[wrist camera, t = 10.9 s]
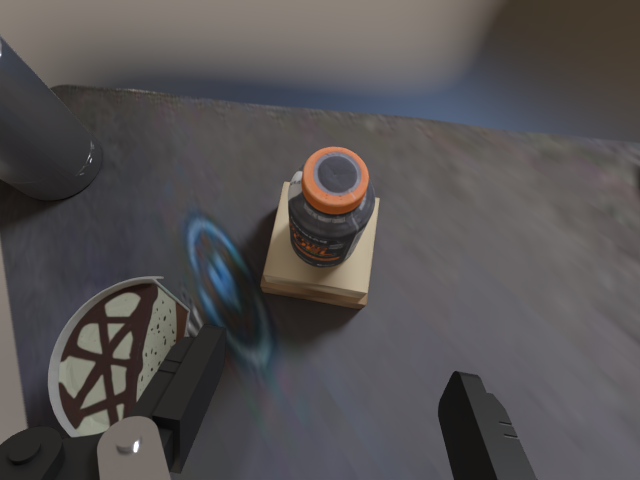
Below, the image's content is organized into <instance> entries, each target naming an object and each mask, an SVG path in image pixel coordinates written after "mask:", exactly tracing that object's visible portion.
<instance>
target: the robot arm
mask: <svg viewBox="0 0 640 480" xmlns="http://www.w3.org/2000/svg"><path fill="white" fill-rule="evenodd" d="M101 163H102V152H101V147H100V145H99V143H98V141H97V140H96V139H95V138H94V137H93V136H92V135H91V134H90V132H89V131H88V130H87V129H86V128H85V127H84V126H83V125H82V124H81V123H80V121H79V120H78V119H77V118H76V117H75V116H74V115H73V113H72V112H71V111H70V110H69V109H68V108H67V107H66V106H65V105H64V104H63V103H62V101H61V100H60V99H59V98H58V97H57V96H56V95H55V94H54V93H53V92H52V91H51V90H50V88H49V87H48V86H47V85H46V84H45V83H44V82H43V81H42V80H41V79H40V78H39V76H38V75H37V74H36V73H35V72H34V71H33V70H32V69H31V68H30V67H29V66H28V65H27V63H26V62H25V61H24V60H23V59H22V58H21V57H20V56H19V55H18V54H17V52H16V51H14V49H13V48H12V47H11V46H10V45H9V44H8V43H7V42H6V41H5V39H4V38H2V36H1V35H0V179H1V180H3V181H5V182H6V183H8V184H9V185H11V186H13V187H14V188H16V189H18V190H19V191H21V192H23V193H24V194H26V195H28V196H30V197H32V198H35V199H39V200H59V199H64V198H67V197H69V196H72V195H74V194H76V193H78V192H80V191H81V190H83V189H84V188H85V187H86V186H88V185H89V184H90V183H91V181H92V180H93V179H94V178H95V177H96V175H97V173H98V171H99V169H100V166H101ZM225 345H226V328H224V327H218V326H213V325H207V324H204V325H203V326H202V328H201V330H200V331H199V333H198V335H197V337H196V338H191V337H184V338H182V339H181V340H180V341H178V342H177V343H176V344H174V345H173V346H172V347H171V349H170V350H169V352H168V353H167V355H166V357H165V358H164V361H162V363H161V364H160V366H159V368H158V369H157V372H155V374H154V376H153V377H152V379H151V380H150V382H149V383H148V385H147V387H146V388H145V390H144V391H143V393H142V395H141V396H140V398H139V399H138V401H137V402H136V404H135V406H134V407H133V409H132V410H131V412H130V413H129V415H128V416H127V417H126V418H125V419H122V420H120V421H118V422H116V423H115V424H113V425H112V426H111V427H109V428H108V429H107V430H106V431H104V432H101V433H98V434H93V435H87V436H79V437H71V438H64V439H62V438H61V435H60V433H59V432H58V431H57V430H56V429H54V428H51V427H47V426H39V427H33V428H29V429H26V430H23V431H21V432H19V433H17V434H15V435H13V436H11V437H10V438H9V439H7V440H6V441H5V442H3V443H2V444H1V445H0V480H171V478H170V475H169V473H170V472H175V473H180V474H181V471H182V469H183V466H184V464H185V462H186V459H187V457H188V454H189V452H190V449H191V447H192V445H193V442H194V440H195V437H196V435H197V433H198V430H199V428H200V425H201V423H202V420H203V418H204V416H205V413H206V411H207V408H208V406H209V404H210V401H211V399H212V396H213V394H214V391H215V389H216V387H217V384H218V382H219V379H220V377H221V374H222V370H223V366H224V360H225ZM438 417H439V422H440V426H441V430H442V434H443V438H444V442H445V446H446V450H447V454H448V458H449V462H450V466H451V470H452V474H453V478H454V480H537V478H536V476H535V474H534V472H533V470H532V467H531V465H530V463H529V461H528V458H527V456H526V454H525V452H524V450H523V447H522V445H521V443H520V441H519V439H517V434H516V432H515V430H514V428H513V427H512V426H511V424H512V423H511V421H510V419H509V417H508V414H507V412H506V410H505V408H504V407H503V406H502V404H501V403H500V402H499V401H498V400H497V398H496V397H495V396H494V395H493V394H490V393H486V390H485V388H484V385H483V383H482V381H481V379H480V377H479V376H478V375H474V374H469V373H463V372H458V371H455V372H453V374H452V376H451V378H450V380H449V382H448V384H447V386H446V388H445V390H444V393H443V395H442V397H441V399H440V402H439V406H438Z"/></svg>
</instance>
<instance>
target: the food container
mask: <svg viewBox="0 0 640 480" xmlns="http://www.w3.org/2000/svg"><path fill="white" fill-rule="evenodd" d="M156 279H163V277H160V276H149V277H139V278H134V279H130V280H126V281H123V282H120V283H118V284H115V285H113V286H111V287H109V288H107V289H105V290H103V291H101V292H100V293H98V294H97V295H95V296H94V297H92V298H91V299H90V300H88V301H87V302H86V303H85V304H84V305H83V306H82V307H80V308H79V310H78V311H77V312H76V313H75V314H74V315H73V316H72V317H71V318H70V320H69V321H68V323H67V324H66V326H65V327H64V329H63V330H62V332H61V334H60V336H59V338H58V340H57V342H56V344H55V347H54V350H53V353H52V356H51V360H50V366H49V371H48V389H49V397H50V401H51V405H52V408H53V411H54V413H55V415H56V417H57V419H58V421H59V423H60V425H61V426H62V427H63V428H64V429H65V431H66V432H67V433H68V434H69V435H70V436H71V437H79V436H87V435H93V434H98V433H101V432H104V431H106V430H107V429H108V428H109V427H111V426H112V425H113V424H115V423H116V422H118V421H120V420H122V419H125V418H126V417H127V416H128V415H129V413H130V412H131V410H132V409H133V407H134V406H135V404H136V402H137V401H138V399H139V398H140V396H141V395H142V393H143V391H144V390H145V388H146V387H147V385H148V383H149V382H150V380H151V379H152V377H153V376H154V374H155V372H157V369H158V368H159V366H160V364H161V363H162V361H164V358H165V357H166V355H167V353H168V352H169V350H170V349H171V347H172V346H173V345H174V344H176V343H177V342H178V341H180V340H181V339H182V338H184V337H186V336H187V329H188V322H189V316H190V309H189V308H188V307H186V306H185V305H184V304H183V303H182V302H181V301H179V300H178V299H177V298H176V297H175V296H174V295H173V294H171V293H170V292H169V291H168V290H167V289H166V288H165V287H163V286H162V285H161V284H160V283H159V282H158V281H157V280H156Z"/></svg>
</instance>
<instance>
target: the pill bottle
mask: <svg viewBox="0 0 640 480" xmlns="http://www.w3.org/2000/svg"><path fill="white" fill-rule="evenodd" d="M374 207H375V191H374V187H373V184H372V182H371V180H370V178H369V176H368V170H367V168H366V166H365V164H364V162H363V161H362V159H361V158H360V157H359V156H358V155H356V154H355V153H353V152H352V151H350V150H348V149H345V148H341V147H327V148H323V149H321V150H318V151H317V152H315V153H314V154H313V155H311V156H310V157H309V159H308V160H307V161H306V163H305V165H303V166H302V167H301V168H300V169H299V170H298V171H297V172H296V173H295V175H294V176H293V178H292V180H291V182H290V185H289V189H288V214H289V228H290V241H291V245H292V247H293V250H294V251H295V253H296V254H297V256H298V257H299V258H300V259H302V260H303V261H304V262H305V263H307V264H309V265H311V266H314V267H319V268H327V267H333V266H337V265H339V264H341V263H343V262H344V261H346V260H347V259H348V258H349V257H350V256H351V254H352V253H353V251H354V249H355V247H356V245H357V243H358V241H359V239H360V237H361V236H362V233H363V231H364V230H365V228H366V226H367V224H368V222H369V220H370V218H371V216H372V213H373V210H374Z"/></svg>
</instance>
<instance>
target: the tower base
mask: <svg viewBox="0 0 640 480" xmlns="http://www.w3.org/2000/svg"><path fill="white" fill-rule="evenodd" d="M289 185H290V182H284V185H283V190H282V191H281V196H280V200H279V205H278V209H277V213H276V218H275V222H274V226H273V231H272V235H271V240H270V244H269V248H268V253H267V257H266V262H265V266H264V270H263V275H262V279H261V284H260V287H261V289H262V291H263V292H266V293H271V294H277V295H282V296H288V297H294V298H299V299H305V300H311V301H316V302H322V303H327V304H333V305H339V306H344V307H350V308H356V309H362V308H363V307H365V306H366V304H367V296H368V288H369V280H370V272H371V264H372V256H373V248H374V240H375V232H376V224H377V216H378V206H379V198H375V207H374V210H373V213H372V216H371V218H370V220H369V222H368V224H367V226H366V228H365V230H364V231H363V233H362V236H361V237H360V239H359V241H358V243H357V245H356V247H355V249H354V251H353V253H352V254H351V256H350V257H349V258H348V259H347V260H346V261H344V262H343V263H341V264H339V265H337V266H333V267H327V268H319V267H314V266H311V265H309V264H307V263H305V262H304V261H303V260H302V259H300V258H299V257H298V256H297V254H296V253H295V251H294V250H293V247H292V245H291V241H290V228H289V214H288V189H289Z"/></svg>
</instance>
